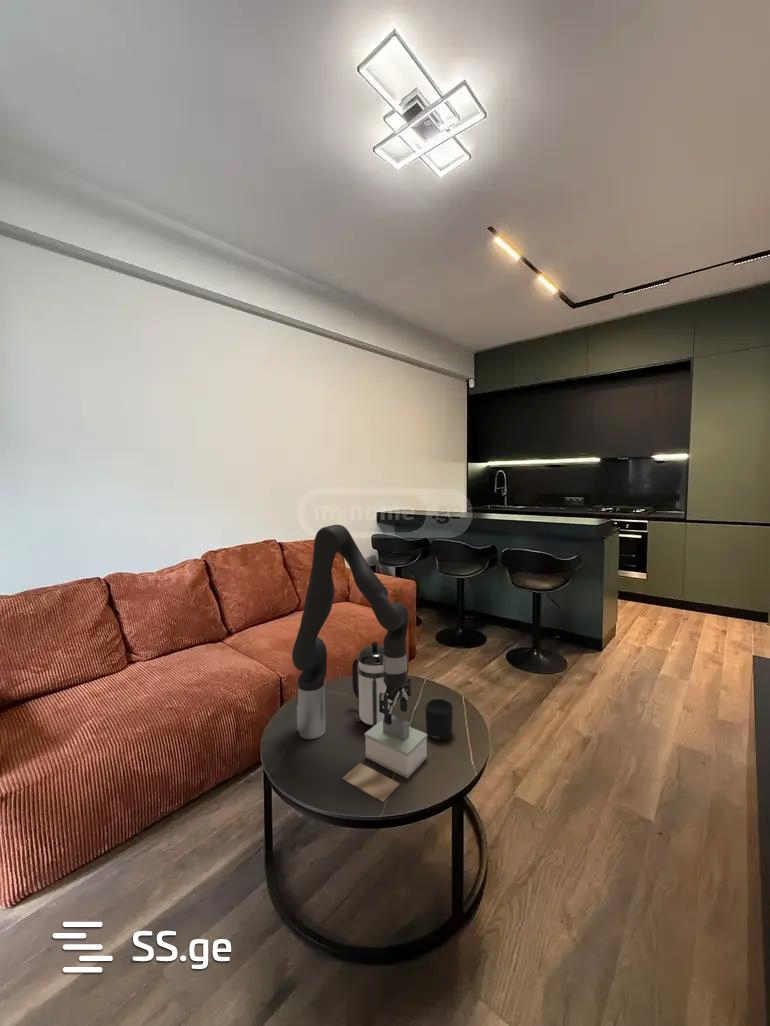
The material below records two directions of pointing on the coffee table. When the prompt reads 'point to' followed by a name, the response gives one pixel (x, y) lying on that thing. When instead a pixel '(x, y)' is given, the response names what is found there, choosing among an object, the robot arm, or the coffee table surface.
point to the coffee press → (369, 683)
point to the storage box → (396, 757)
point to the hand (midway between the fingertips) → (396, 717)
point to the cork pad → (371, 782)
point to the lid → (397, 736)
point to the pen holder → (439, 719)
